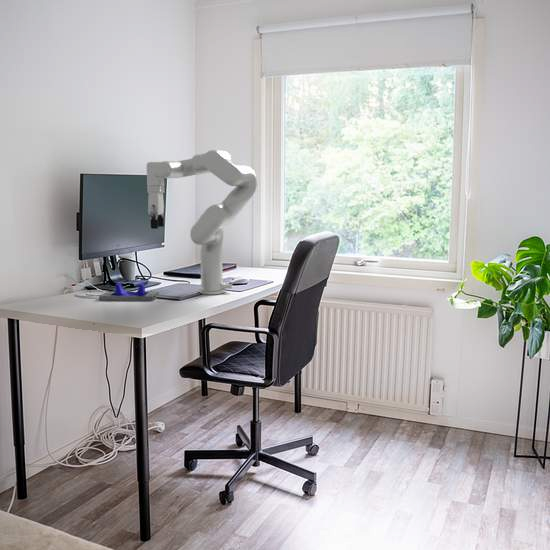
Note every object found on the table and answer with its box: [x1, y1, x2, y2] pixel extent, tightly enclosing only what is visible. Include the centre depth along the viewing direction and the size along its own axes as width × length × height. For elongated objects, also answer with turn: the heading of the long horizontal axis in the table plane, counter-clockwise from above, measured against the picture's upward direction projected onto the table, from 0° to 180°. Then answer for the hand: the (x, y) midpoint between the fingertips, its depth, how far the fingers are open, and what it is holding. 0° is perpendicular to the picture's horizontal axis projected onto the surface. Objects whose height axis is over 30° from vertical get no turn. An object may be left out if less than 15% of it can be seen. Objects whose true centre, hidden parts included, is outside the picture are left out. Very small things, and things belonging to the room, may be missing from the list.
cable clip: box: [114, 283, 146, 296], centre depth 276 cm, size 12×4×6 cm, turn 83°
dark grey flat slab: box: [98, 291, 160, 302], centre depth 275 cm, size 23×10×2 cm, turn 85°
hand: (157, 227), depth 292 cm, fingers open, 9 cm apart
